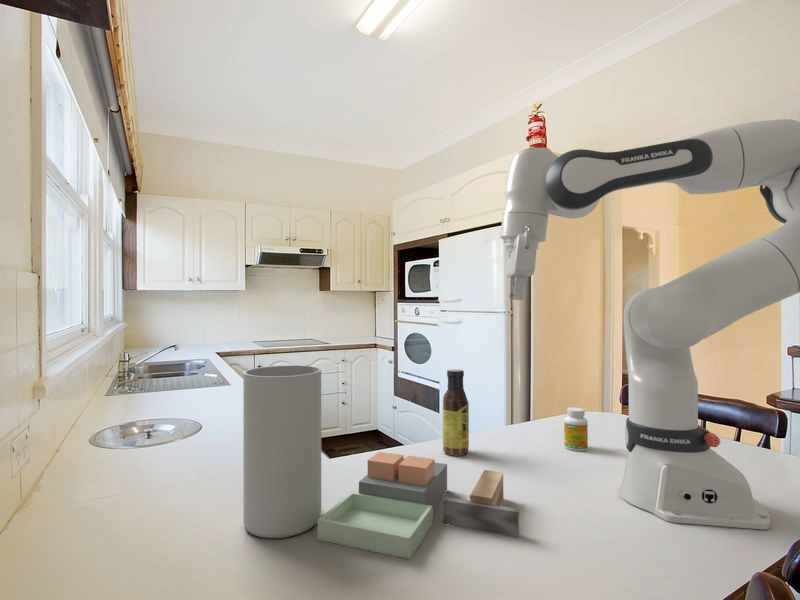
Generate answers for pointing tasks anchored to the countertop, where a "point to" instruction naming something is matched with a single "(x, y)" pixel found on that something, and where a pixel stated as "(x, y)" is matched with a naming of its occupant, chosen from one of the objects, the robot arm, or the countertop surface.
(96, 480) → the countertop surface
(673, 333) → the robot arm
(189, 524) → the countertop surface
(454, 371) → the sauce bottle
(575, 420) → the supplement bottle
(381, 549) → the tray
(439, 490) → the board
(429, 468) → the peach block
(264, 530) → the cylinder vase
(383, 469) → the orange block
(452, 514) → the grey and tan blocks
